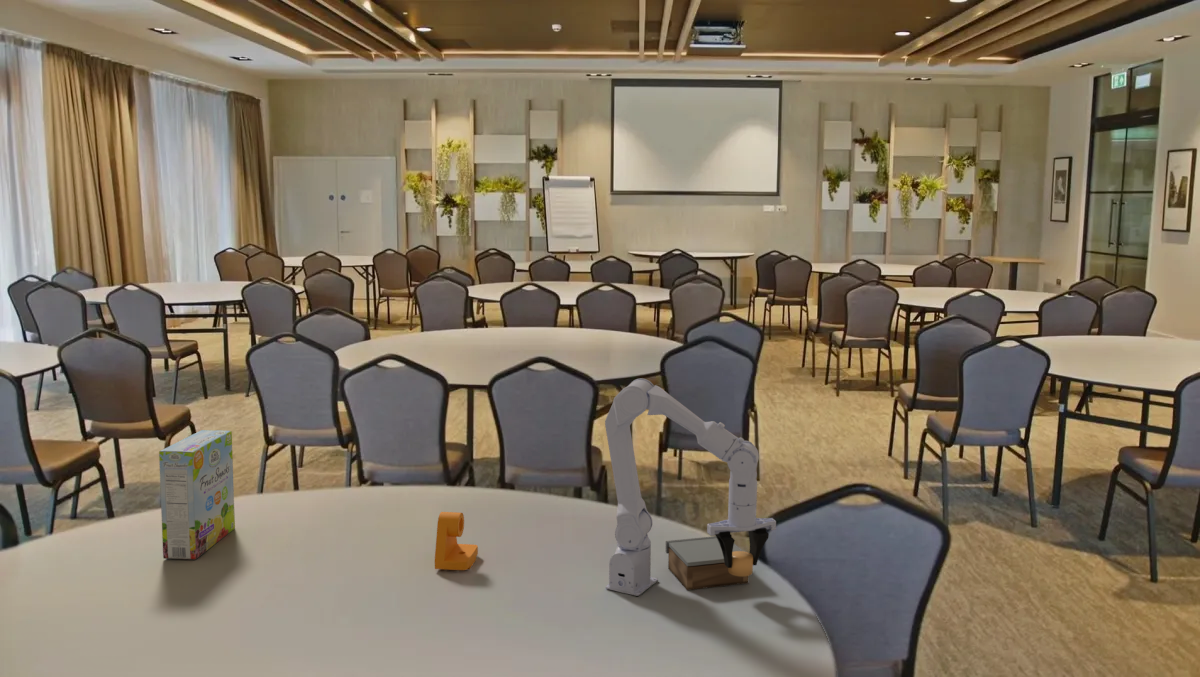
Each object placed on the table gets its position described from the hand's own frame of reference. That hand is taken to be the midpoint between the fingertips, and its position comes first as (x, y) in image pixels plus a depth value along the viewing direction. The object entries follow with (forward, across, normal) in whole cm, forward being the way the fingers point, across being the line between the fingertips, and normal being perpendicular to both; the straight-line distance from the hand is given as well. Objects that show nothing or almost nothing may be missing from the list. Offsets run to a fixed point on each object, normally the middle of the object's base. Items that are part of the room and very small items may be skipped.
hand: (740, 564), depth 190 cm
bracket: (+7, +55, -32) cm, 64 cm away
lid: (+3, +3, -12) cm, 13 cm away
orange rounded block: (+2, 0, 0) cm, 2 cm away
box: (+7, +3, -11) cm, 13 cm away
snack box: (+8, +113, -61) cm, 129 cm away
